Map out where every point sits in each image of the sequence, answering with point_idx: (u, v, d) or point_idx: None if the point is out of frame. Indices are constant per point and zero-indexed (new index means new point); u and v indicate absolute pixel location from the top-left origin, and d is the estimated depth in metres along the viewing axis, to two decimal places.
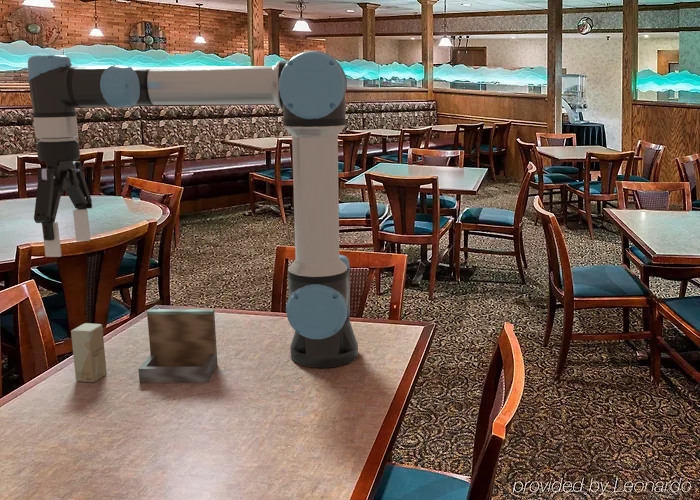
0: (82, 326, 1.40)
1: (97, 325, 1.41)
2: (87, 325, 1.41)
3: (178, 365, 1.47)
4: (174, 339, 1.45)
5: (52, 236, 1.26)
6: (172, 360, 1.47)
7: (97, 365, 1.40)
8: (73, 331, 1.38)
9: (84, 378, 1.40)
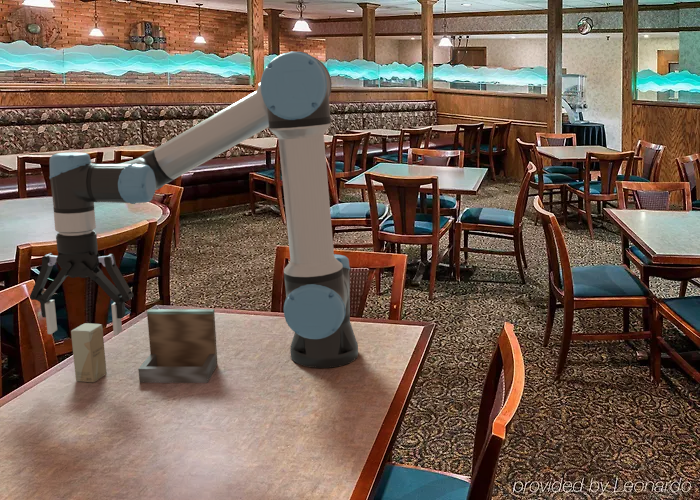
0: (82, 326, 1.40)
1: (97, 325, 1.41)
2: (87, 325, 1.41)
3: (178, 365, 1.47)
4: (174, 339, 1.45)
5: (43, 314, 1.39)
6: (172, 360, 1.47)
7: (97, 365, 1.40)
8: (73, 331, 1.38)
9: (84, 378, 1.40)
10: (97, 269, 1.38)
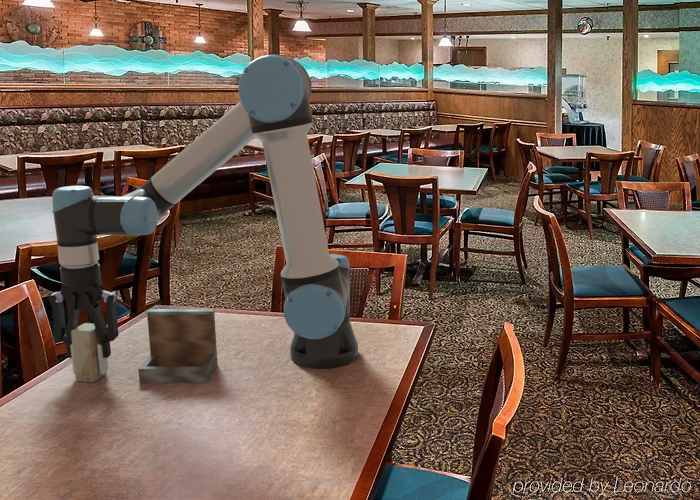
0: (82, 326, 1.40)
1: None
2: (87, 325, 1.41)
3: (178, 365, 1.47)
4: (174, 339, 1.45)
5: (69, 355, 1.40)
6: (172, 360, 1.47)
7: (97, 365, 1.40)
8: (73, 331, 1.38)
9: (84, 378, 1.40)
10: (97, 303, 1.40)
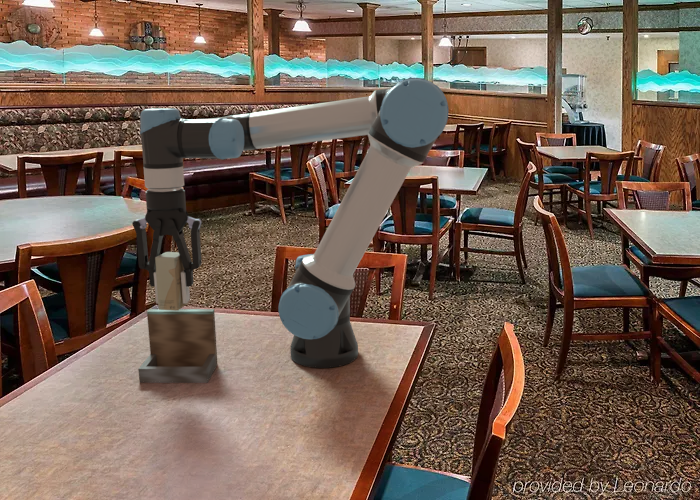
0: (165, 254, 1.38)
1: None
2: (170, 253, 1.38)
3: (178, 365, 1.47)
4: (174, 339, 1.45)
5: (151, 283, 1.38)
6: (172, 360, 1.47)
7: (180, 294, 1.38)
8: (157, 257, 1.35)
9: (167, 306, 1.37)
10: (180, 230, 1.37)
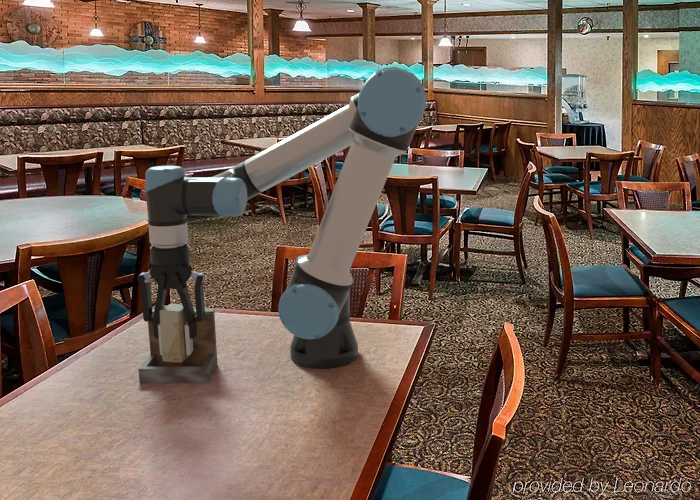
0: (169, 306, 1.40)
1: None
2: (174, 305, 1.41)
3: (178, 365, 1.47)
4: None
5: (156, 335, 1.40)
6: None
7: (184, 346, 1.40)
8: (162, 311, 1.38)
9: (171, 358, 1.40)
10: (184, 284, 1.40)
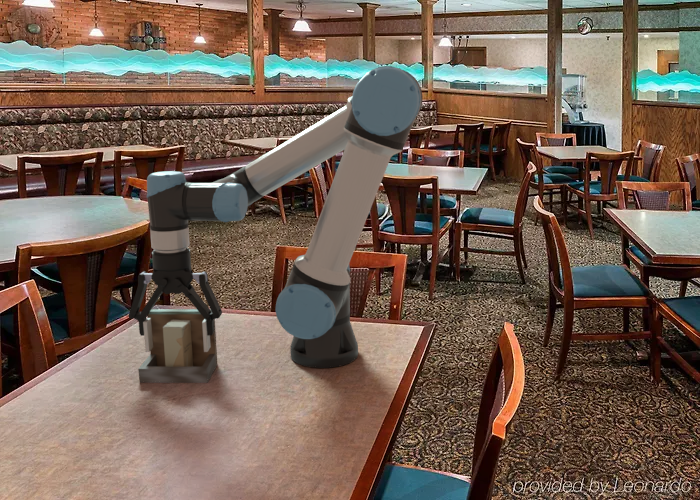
0: (172, 322, 1.42)
1: (186, 321, 1.43)
2: (176, 321, 1.42)
3: None
4: None
5: (141, 332, 1.41)
6: None
7: (187, 361, 1.42)
8: (165, 327, 1.39)
9: None
10: (189, 286, 1.41)
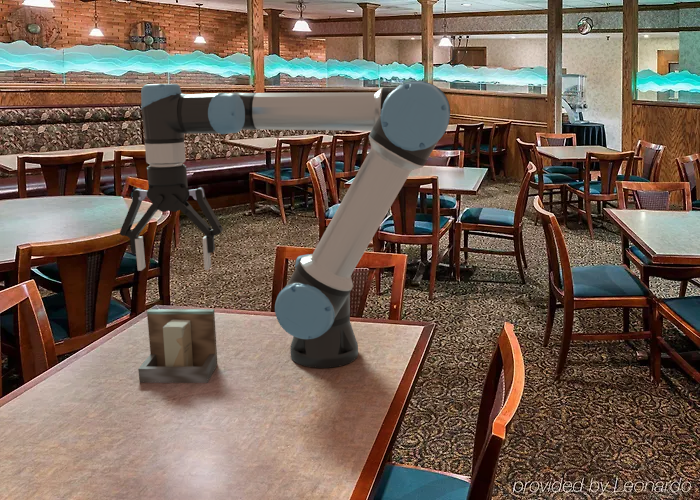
0: (172, 322, 1.42)
1: (186, 321, 1.43)
2: (176, 321, 1.42)
3: None
4: None
5: (133, 250, 1.37)
6: None
7: (187, 361, 1.42)
8: (165, 327, 1.39)
9: None
10: (186, 203, 1.37)
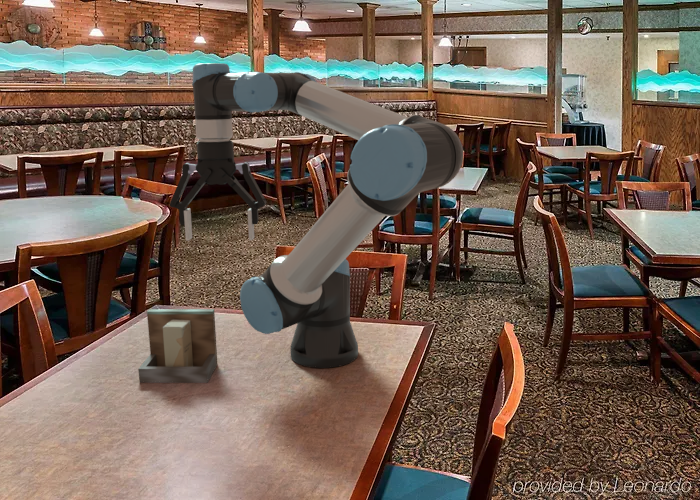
0: (172, 322, 1.42)
1: (186, 321, 1.43)
2: (176, 321, 1.42)
3: None
4: None
5: (181, 221, 1.46)
6: None
7: (187, 361, 1.42)
8: (165, 327, 1.39)
9: None
10: (232, 177, 1.45)
